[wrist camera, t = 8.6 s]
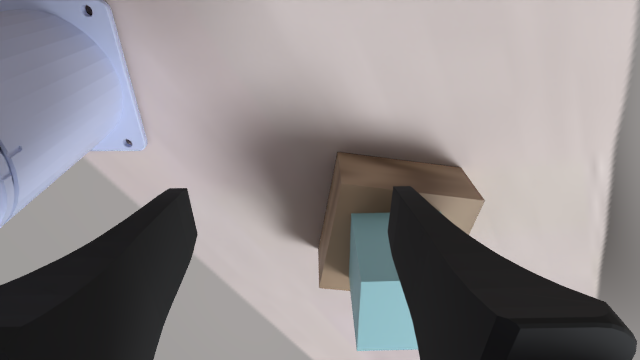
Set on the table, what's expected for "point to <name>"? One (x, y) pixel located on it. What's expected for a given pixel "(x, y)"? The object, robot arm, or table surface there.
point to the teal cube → (377, 288)
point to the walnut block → (385, 203)
